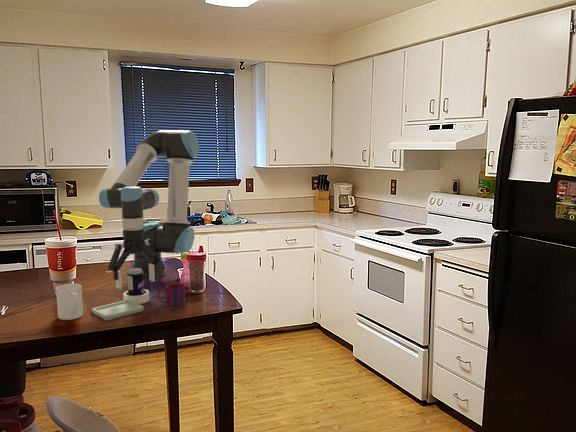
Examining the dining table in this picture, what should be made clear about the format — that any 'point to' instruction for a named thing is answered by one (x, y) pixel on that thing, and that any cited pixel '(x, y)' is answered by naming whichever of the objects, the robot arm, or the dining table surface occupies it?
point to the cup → (174, 294)
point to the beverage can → (135, 282)
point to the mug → (69, 301)
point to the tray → (117, 309)
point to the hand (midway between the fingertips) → (135, 284)
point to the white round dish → (137, 297)
